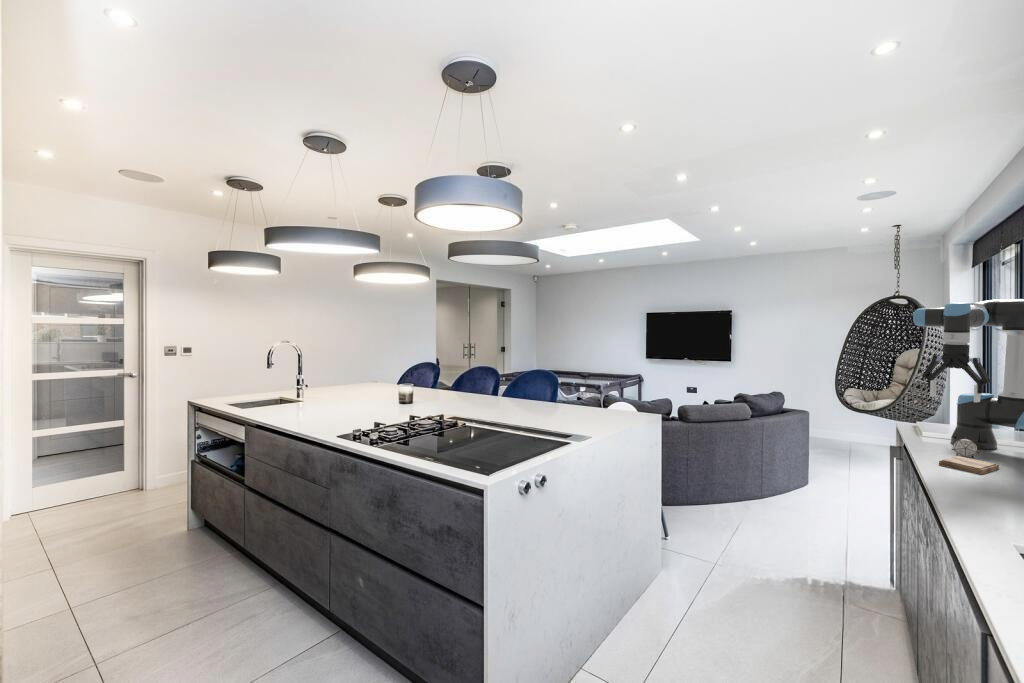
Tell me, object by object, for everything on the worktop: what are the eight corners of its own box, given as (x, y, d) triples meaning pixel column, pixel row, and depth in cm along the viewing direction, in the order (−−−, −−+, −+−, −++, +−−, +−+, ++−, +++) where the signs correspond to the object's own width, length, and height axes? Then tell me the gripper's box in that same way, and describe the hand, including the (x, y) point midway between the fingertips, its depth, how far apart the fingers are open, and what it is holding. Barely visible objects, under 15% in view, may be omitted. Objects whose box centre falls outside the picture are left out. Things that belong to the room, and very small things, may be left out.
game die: (971, 467, 202) (990, 452, 196) (949, 459, 204) (967, 443, 198) (963, 451, 209) (981, 436, 203) (942, 444, 211) (959, 428, 205)
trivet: (956, 460, 200) (956, 455, 200) (998, 469, 188) (999, 464, 188) (939, 464, 195) (939, 459, 195) (981, 474, 183) (981, 469, 183)
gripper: (912, 342, 197) (911, 395, 199) (994, 345, 175) (991, 405, 176) (923, 341, 200) (921, 393, 202) (1004, 344, 178) (1002, 403, 179)
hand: (954, 399), depth 189 cm, fingers open, 13 cm apart
